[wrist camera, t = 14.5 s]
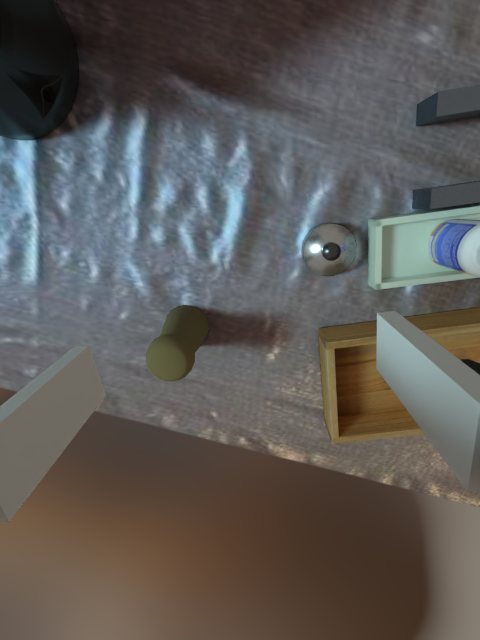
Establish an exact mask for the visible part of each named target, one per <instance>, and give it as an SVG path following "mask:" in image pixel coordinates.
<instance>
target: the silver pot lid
mask: <svg viewBox="0 0 480 640" xmlns="http://www.w3.org/2000/svg"><path fill="white" fill-rule="evenodd" d="M355 254H356V242H355V239H354V236H353V235H352V233H351V232H350V231H349V230H348V229H347V228H345V227H343V226H341V225H338V224H333V223H324V224H320V225H318V226H316V227H314V228H313V229H311V230H310V231H309V232H308V234H307V235H306V236H305V238H304V240H303V243H302V257H303V259H304V261H305V263H306V264H307V266H308V267H309V268H310V269H311V270H312V271H313V272H315V273H316V274H319V275H322V276H334V275H337V274H340V273H342V272H343V271H345V270H346V269H347V268H348V267H349V266H350V265H351V263H352V262H353V260H354V257H355Z"/></svg>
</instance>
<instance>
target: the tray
mask: <svg viewBox="0 0 480 640" xmlns="http://www.w3.org/2000/svg"><path fill="white" fill-rule="evenodd" d="M404 318H405V319H407V320H408V321H409V322H410V323H412V324H413V325H414V326H416V327H417V328H418V329H420V330H421V331H422V332H424V333H425V334H426V335H428V336H429V337H430V338H432V339H433V340H434V341H436V342H437V343H438V344H439V345H441V346H442V347H443V348H445V349H446V350H447V351H449V352H450V353H451V354H453V355H454V356H455V357H457V358H458V359H459V360H461V359H470V360H473V361H475V362H478V363H480V307H478V308H470V309H462V310H455V311H447V312H439V313H432V314H424V315H417V316H409V317H404ZM318 342H319V356H320V370H321V384H322V397H323V409H324V421H325V425H326V428H327V431H328V434H329V436H330V439H331V442H332V443H344V442H354V441H364V440H374V439H383V438H393V437H403V436H413V435H424V432H423V431H422V430H421V428H420V427H419V426H418V424H417V423H416V422H415V420H414V419H413V417H412V416H411V415H410V413H409V412H408V411H407V409H406V408H405V407H404V405H403V404H402V403H401V401H400V400H399V399H398V397H397V396H396V395H395V393H394V392H393V391H392V389H391V388H390V387H389V385H388V384H387V383H386V381H385V380H384V379H383V377H382V376H381V374H380V373H379V372H378V370H377V369H376V354H377V321H371V322H364V323H356V324H349V325H341V326H333V327H325V328H319V329H318Z"/></svg>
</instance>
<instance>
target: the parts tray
mask: <svg viewBox="0 0 480 640" xmlns="http://www.w3.org/2000/svg"><path fill="white" fill-rule="evenodd" d="M451 219H465V220H480V204H475V205H467V206H460V207H453V208H445V209H438V210H431V211H423V212H416V213H409V214H402V215H394V216H387V217H380V218H372V219H368V285H369V286H371V287H372V288H373V289H375V290H378V289H386V288H394V287H403V286H411V285H420V284H428V283H437V282H445V281H453V280H462V279H470V278H479V277H478V276H474V275H470V274H467V273H464V272H460V271H457V270H454V269H450V268H447V267H444V266H441V265H438V264H436V263H434V262H432V261H431V260H430V259H429V257H428V256H427V253H426V241H427V238H428V236H429V234H430V232H431V231H432V230H433V229H434V228H435V227H436V226H437V225H438V224H440V223H442V222H444V221H446V220H451Z"/></svg>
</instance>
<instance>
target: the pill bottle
mask: <svg viewBox="0 0 480 640" xmlns="http://www.w3.org/2000/svg"><path fill="white" fill-rule="evenodd" d="M426 253H427V256H428V257H429V259H430V260H431V261H432V262H434V263H436V264H438V265H441V266H444V267H447V268H450V269H454V270H457V271H460V272H464V273H467V274H470V275H474V276H478V277H480V220H465V219H451V220H446V221H444V222H442V223H440V224H438V225H437V226H436V227H435V228H434V229H433V230H432V231H431V232H430V234H429V236H428V238H427V241H426Z"/></svg>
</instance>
